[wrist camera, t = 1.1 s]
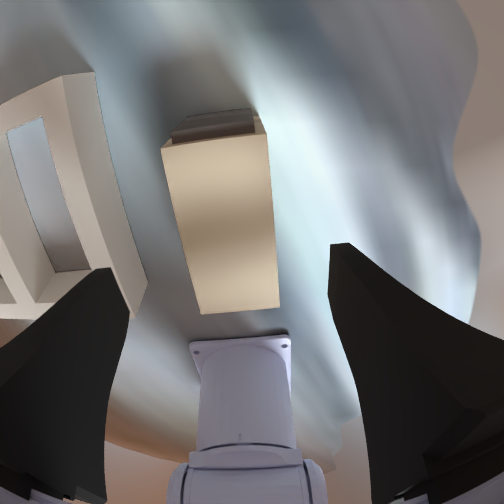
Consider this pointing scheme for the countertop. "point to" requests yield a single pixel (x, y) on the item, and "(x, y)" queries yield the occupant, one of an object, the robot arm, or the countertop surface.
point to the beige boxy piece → (224, 209)
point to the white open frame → (76, 196)
